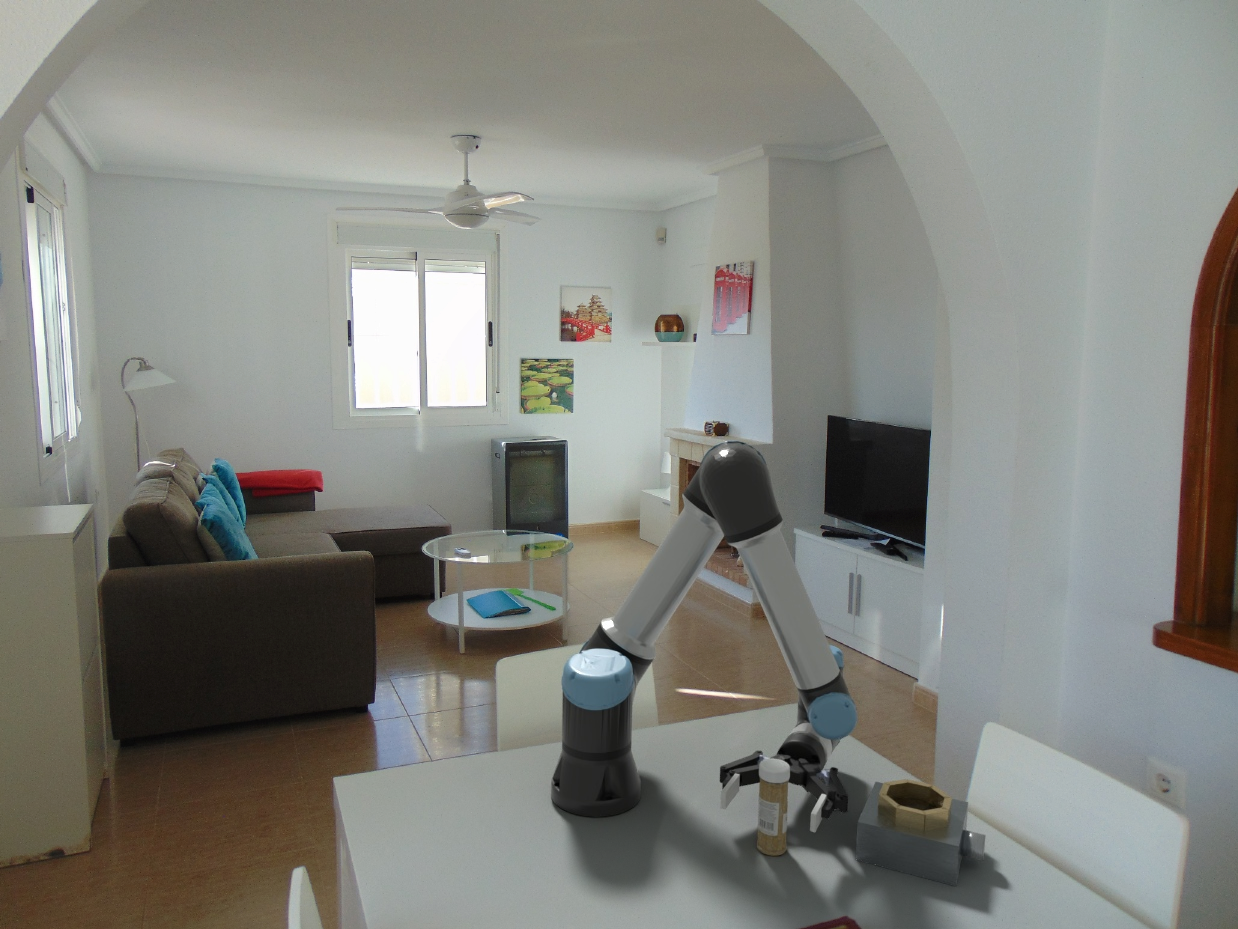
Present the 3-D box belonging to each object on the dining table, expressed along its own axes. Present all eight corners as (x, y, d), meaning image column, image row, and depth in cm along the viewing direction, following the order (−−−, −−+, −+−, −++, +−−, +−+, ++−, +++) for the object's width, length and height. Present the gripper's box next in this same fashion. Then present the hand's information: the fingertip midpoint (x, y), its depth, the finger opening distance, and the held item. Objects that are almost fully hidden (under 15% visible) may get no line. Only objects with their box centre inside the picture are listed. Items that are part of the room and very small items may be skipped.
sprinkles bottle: (792, 851, 133) (796, 766, 132) (770, 860, 131) (774, 774, 129) (771, 837, 137) (775, 754, 135) (749, 845, 135) (752, 761, 133)
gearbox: (855, 859, 131) (858, 805, 130) (873, 816, 144) (876, 766, 143) (978, 892, 124) (983, 835, 123) (986, 843, 136) (990, 791, 135)
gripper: (878, 792, 144) (851, 857, 125) (732, 759, 155) (687, 814, 136) (881, 748, 143) (854, 807, 124) (734, 718, 154) (688, 768, 135)
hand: (767, 811), depth 130 cm, fingers open, 13 cm apart
